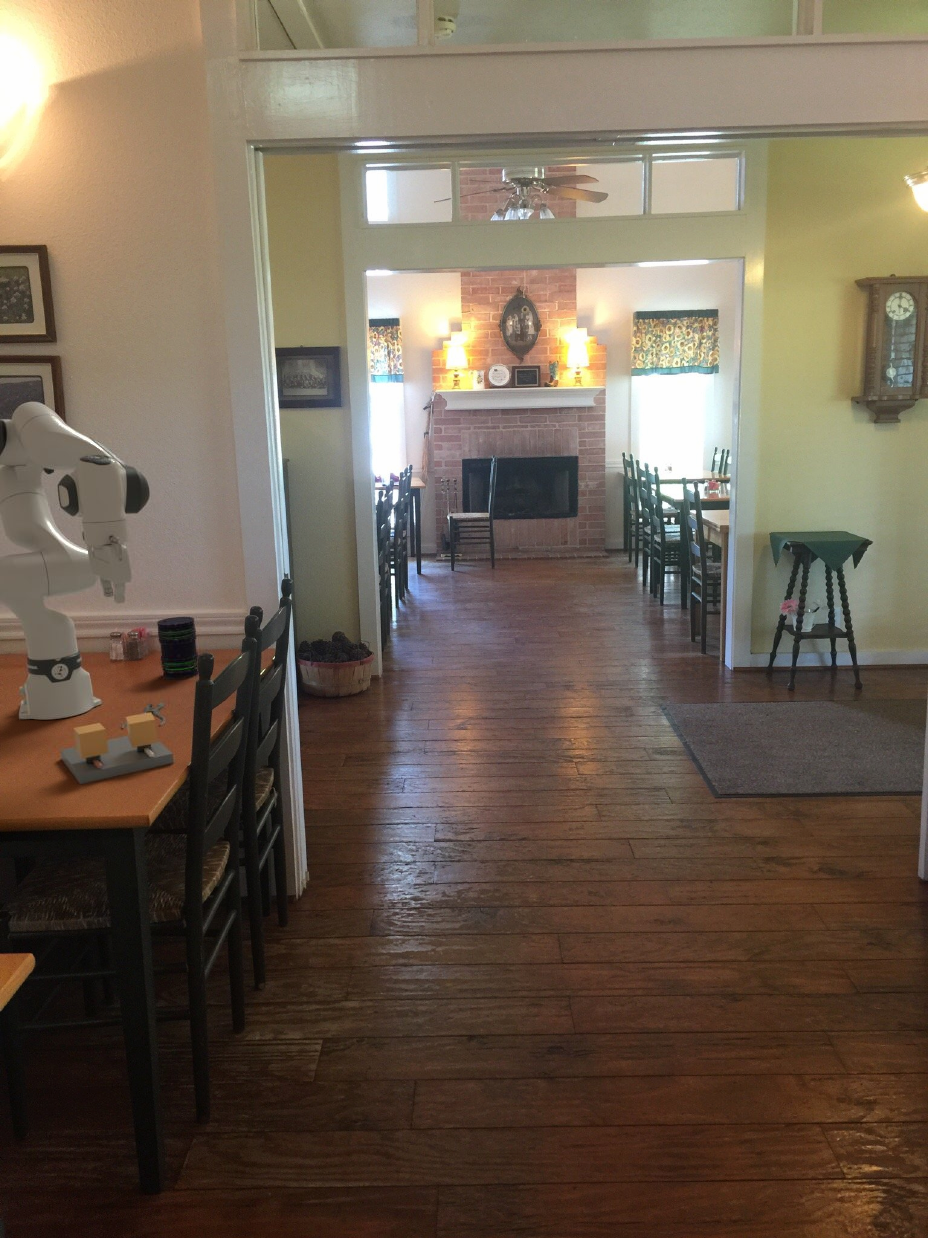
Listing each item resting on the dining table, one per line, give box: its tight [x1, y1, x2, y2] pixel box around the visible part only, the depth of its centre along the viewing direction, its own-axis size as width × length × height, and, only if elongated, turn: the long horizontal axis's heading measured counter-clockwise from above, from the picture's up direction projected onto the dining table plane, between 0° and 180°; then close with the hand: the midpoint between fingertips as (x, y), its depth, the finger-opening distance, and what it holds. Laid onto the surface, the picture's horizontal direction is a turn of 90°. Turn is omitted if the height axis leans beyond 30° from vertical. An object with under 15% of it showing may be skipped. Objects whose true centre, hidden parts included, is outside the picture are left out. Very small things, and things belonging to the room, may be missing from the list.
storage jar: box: [156, 616, 199, 680], centre depth 266 cm, size 10×10×15 cm
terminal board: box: [60, 722, 174, 785], centre depth 200 cm, size 18×18×9 cm
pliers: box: [120, 700, 167, 730], centre depth 230 cm, size 10×1×20 cm
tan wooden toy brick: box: [125, 712, 159, 748], centre depth 199 cm, size 5×5×5 cm
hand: (114, 599), depth 207 cm, fingers open, 8 cm apart
